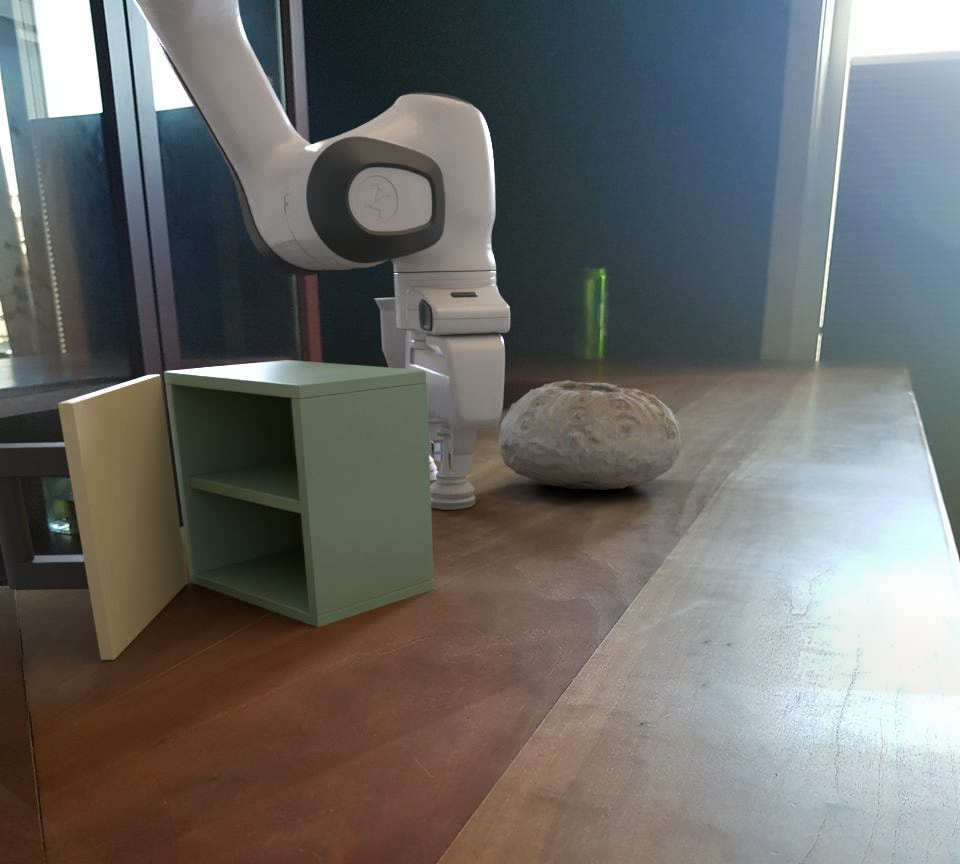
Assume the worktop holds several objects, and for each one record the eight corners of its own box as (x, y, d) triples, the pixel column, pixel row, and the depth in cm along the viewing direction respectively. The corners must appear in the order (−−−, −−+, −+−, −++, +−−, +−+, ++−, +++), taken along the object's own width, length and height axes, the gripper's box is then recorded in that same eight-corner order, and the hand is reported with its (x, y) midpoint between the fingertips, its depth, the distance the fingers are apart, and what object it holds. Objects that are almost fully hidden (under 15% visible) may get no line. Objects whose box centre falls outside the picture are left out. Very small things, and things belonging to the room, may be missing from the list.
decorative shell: (678, 470, 105) (683, 374, 101) (680, 508, 88) (686, 395, 85) (512, 468, 108) (512, 374, 104) (485, 504, 91) (483, 394, 88)
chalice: (414, 468, 109) (406, 296, 102) (463, 474, 105) (458, 296, 98) (370, 480, 103) (359, 299, 97) (420, 486, 99) (412, 299, 93)
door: (7, 662, 55) (-46, 405, 50) (101, 584, 69) (67, 376, 64) (114, 660, 55) (72, 402, 50) (187, 583, 69) (160, 374, 64)
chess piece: (419, 507, 90) (415, 397, 87) (441, 498, 94) (438, 391, 91) (462, 511, 89) (459, 399, 85) (483, 501, 92) (481, 393, 89)
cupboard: (318, 628, 60) (298, 384, 55) (190, 583, 70) (163, 371, 64) (434, 590, 67) (426, 370, 62) (303, 553, 76) (287, 359, 71)
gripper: (386, 305, 94) (393, 450, 99) (440, 312, 75) (445, 490, 80) (449, 303, 95) (453, 446, 100) (517, 310, 77) (518, 484, 82)
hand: (450, 466), depth 90 cm, fingers open, 5 cm apart
